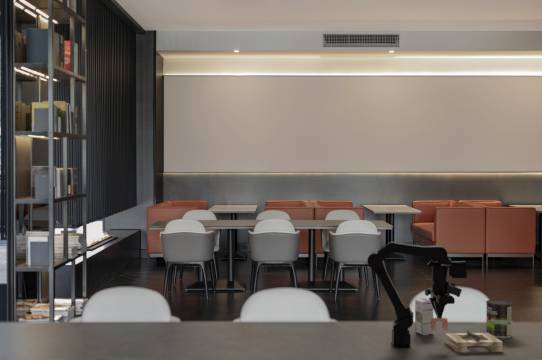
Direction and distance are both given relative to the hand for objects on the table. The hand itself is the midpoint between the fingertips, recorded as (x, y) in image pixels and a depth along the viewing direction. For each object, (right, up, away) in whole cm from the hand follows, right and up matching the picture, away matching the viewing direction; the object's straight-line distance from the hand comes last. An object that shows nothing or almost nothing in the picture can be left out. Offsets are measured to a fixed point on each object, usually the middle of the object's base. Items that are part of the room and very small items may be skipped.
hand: (439, 317), depth 257 cm
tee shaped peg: (0, -5, 0) cm, 5 cm away
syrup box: (-1, -12, +22) cm, 25 cm away
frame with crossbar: (+14, -12, +1) cm, 18 cm away
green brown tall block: (+31, -12, +20) cm, 38 cm away
